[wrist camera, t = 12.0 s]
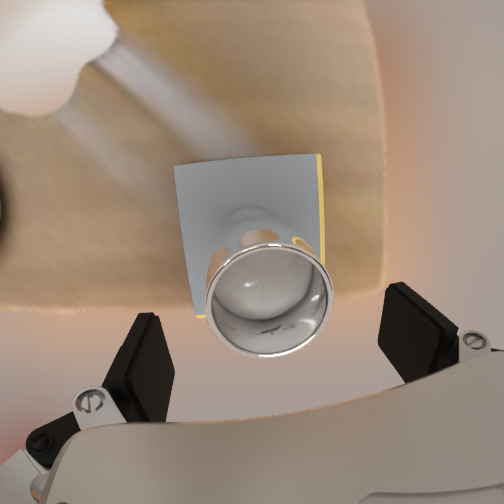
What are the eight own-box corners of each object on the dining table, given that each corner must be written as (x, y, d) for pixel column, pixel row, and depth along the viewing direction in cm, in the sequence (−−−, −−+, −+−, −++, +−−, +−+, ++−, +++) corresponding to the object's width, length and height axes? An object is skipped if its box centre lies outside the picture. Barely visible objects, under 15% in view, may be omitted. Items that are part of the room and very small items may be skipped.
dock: (179, 166, 28) (173, 165, 25) (313, 155, 29) (321, 153, 26) (199, 307, 33) (196, 319, 30) (317, 294, 34) (325, 305, 31)
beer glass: (297, 246, 28) (357, 319, 14) (240, 281, 29) (249, 380, 15) (262, 188, 27) (298, 209, 12) (202, 226, 27) (171, 288, 13)
